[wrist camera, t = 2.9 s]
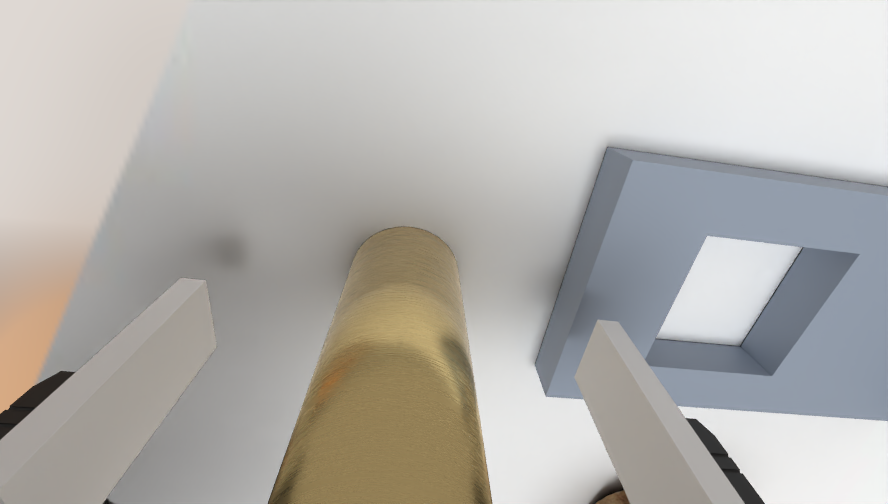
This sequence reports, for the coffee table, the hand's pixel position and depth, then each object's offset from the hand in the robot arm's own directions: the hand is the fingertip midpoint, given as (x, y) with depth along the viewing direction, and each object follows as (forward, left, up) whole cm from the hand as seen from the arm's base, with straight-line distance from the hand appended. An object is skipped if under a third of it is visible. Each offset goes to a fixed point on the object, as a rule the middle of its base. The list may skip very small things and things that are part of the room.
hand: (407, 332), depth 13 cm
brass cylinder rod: (0, 0, -4) cm, 4 cm away
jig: (+18, +1, -4) cm, 18 cm away
